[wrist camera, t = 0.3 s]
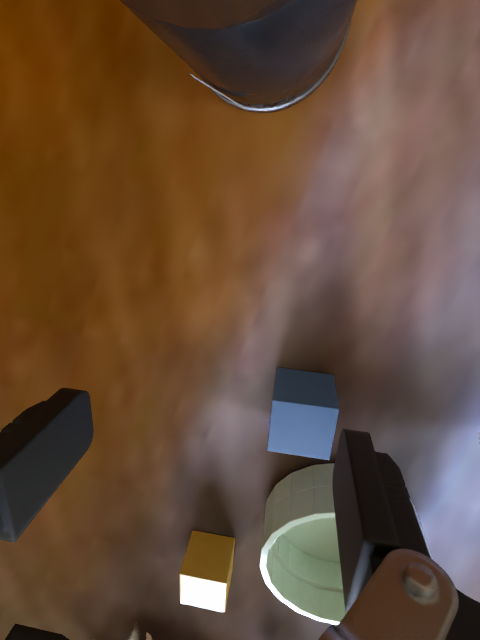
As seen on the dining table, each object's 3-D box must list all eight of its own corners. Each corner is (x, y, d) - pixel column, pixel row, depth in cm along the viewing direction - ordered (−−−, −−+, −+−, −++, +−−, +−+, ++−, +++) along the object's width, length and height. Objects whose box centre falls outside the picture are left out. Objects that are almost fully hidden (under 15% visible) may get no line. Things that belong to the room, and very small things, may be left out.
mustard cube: (192, 529, 38) (179, 574, 34) (235, 537, 38) (226, 583, 34) (192, 558, 40) (179, 603, 36) (233, 566, 40) (224, 613, 35)
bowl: (272, 448, 33) (267, 498, 28) (432, 472, 31) (458, 531, 26) (260, 550, 38) (254, 608, 33) (396, 576, 36) (412, 641, 31)
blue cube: (276, 366, 29) (272, 399, 25) (333, 374, 29) (339, 409, 25) (271, 413, 31) (266, 451, 27) (325, 420, 31) (329, 460, 26)
